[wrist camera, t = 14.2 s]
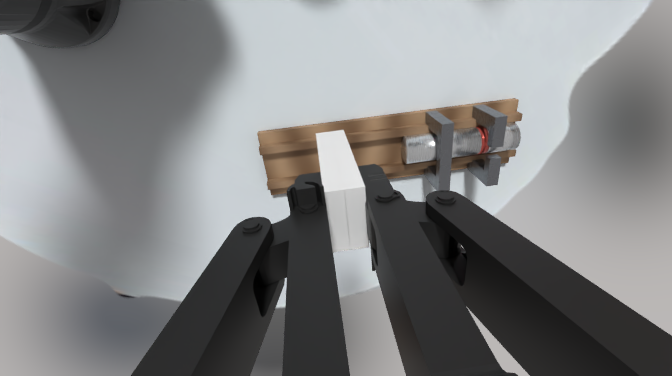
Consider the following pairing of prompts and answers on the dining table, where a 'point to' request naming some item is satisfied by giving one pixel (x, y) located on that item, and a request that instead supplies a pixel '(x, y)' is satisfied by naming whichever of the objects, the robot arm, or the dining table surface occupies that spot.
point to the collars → (445, 131)
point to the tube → (456, 143)
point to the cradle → (368, 143)
